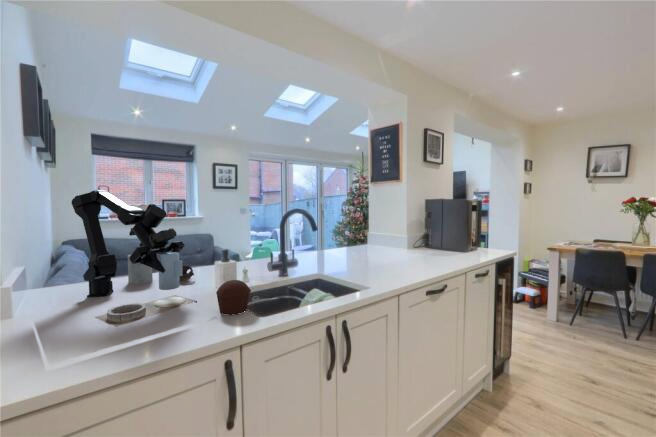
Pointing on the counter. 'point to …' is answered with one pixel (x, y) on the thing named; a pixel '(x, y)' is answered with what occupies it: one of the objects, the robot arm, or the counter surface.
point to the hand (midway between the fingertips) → (172, 269)
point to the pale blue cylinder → (170, 270)
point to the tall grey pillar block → (139, 273)
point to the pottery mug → (185, 274)
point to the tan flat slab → (142, 310)
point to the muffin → (233, 297)
